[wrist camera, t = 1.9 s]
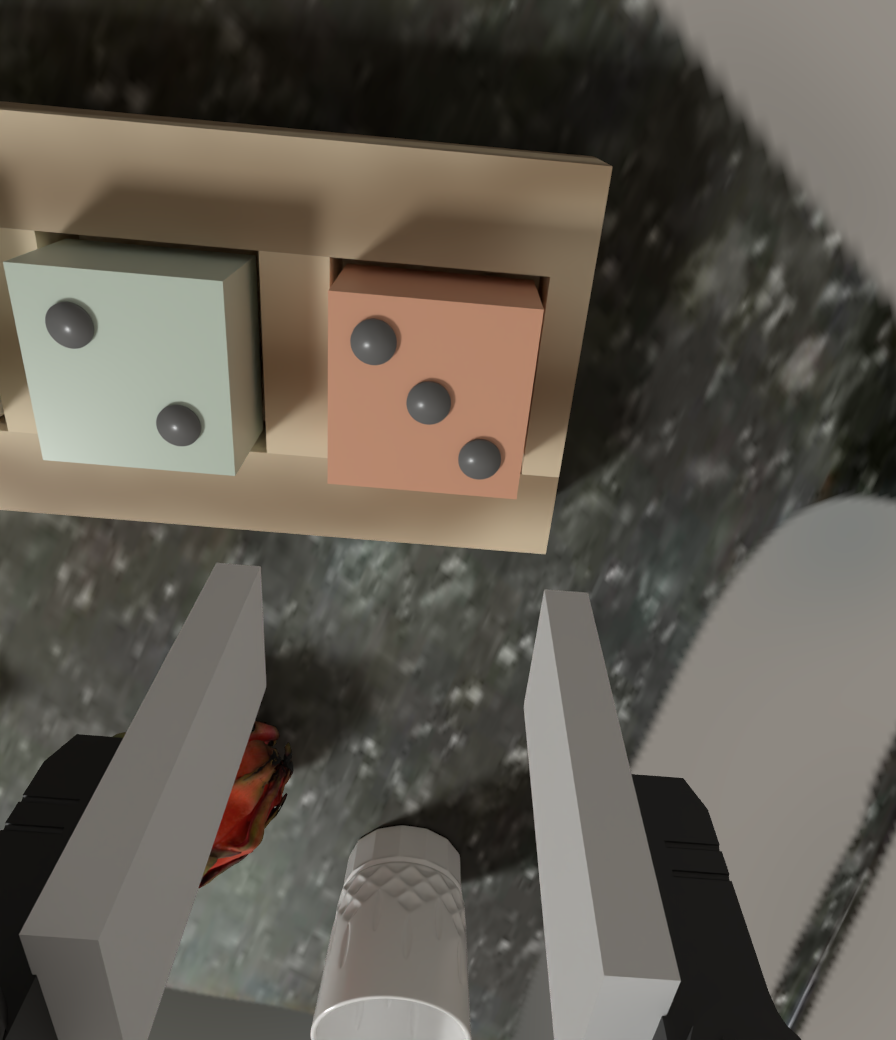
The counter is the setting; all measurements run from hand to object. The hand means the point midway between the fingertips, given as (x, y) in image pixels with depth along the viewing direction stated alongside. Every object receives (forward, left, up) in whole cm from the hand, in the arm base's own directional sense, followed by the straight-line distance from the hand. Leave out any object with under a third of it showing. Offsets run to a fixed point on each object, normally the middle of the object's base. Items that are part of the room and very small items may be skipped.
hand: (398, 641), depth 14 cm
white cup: (+32, 0, -19) cm, 37 cm away
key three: (0, 0, -16) cm, 16 cm away
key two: (0, -9, -16) cm, 19 cm away
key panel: (0, -10, -19) cm, 21 cm away
